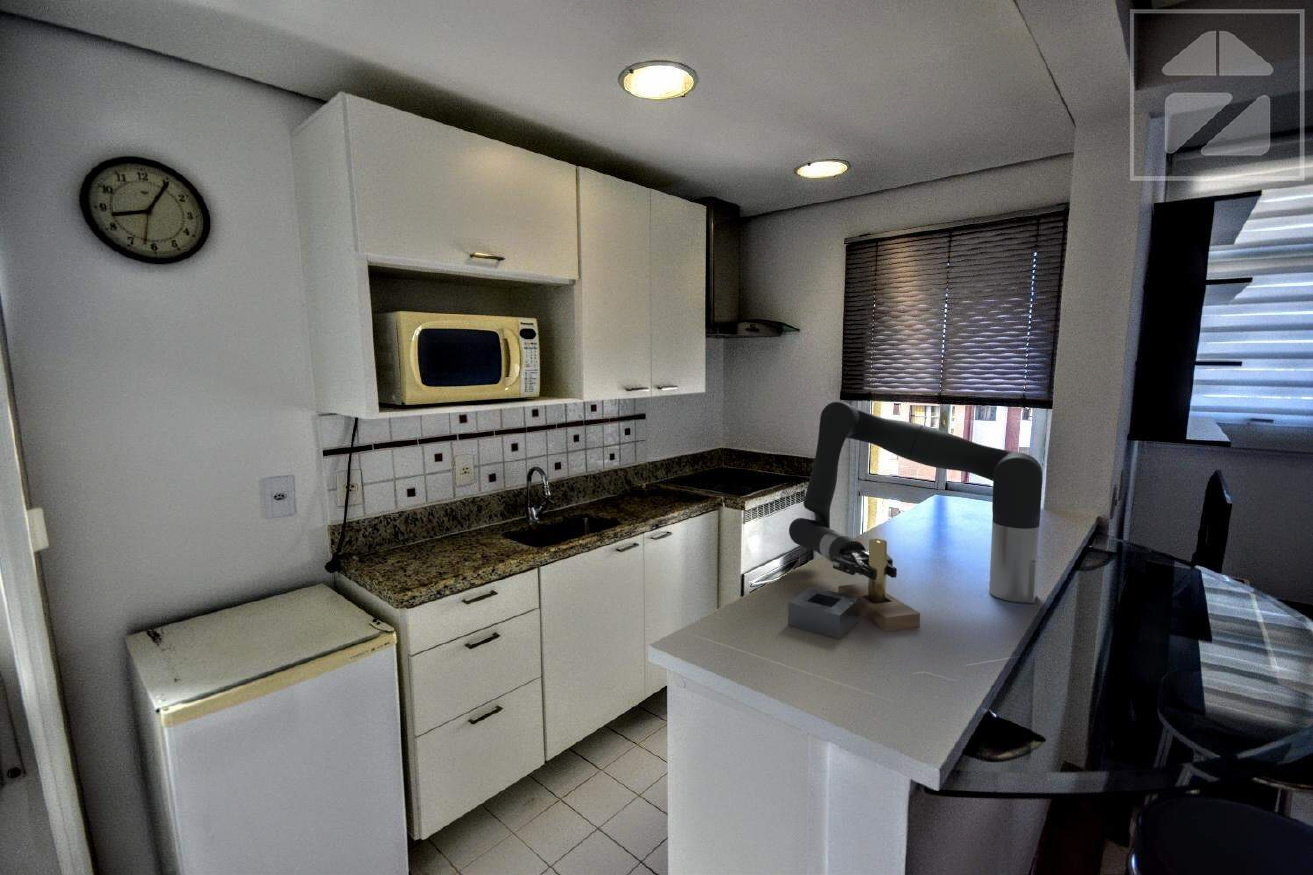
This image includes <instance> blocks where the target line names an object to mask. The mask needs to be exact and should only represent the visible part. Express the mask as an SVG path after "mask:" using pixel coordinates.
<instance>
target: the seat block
mask: <svg viewBox="0 0 1313 875" xmlns="http://www.w3.org/2000/svg"><path fill="white" fill-rule="evenodd" d="M859 599H860V598H858V597H854V596H849V595H845V594H841V593H838V592H835V591H831V590H827V589H823V588H819V587H815V586H809V587H808V588H806V589H804V591H802V592H800V593H799V594H798V595H796V596H795V597H794V598H792V599H791V600H790V601H789V602H787V604H788V607H787V608H788V610H787V611H788V612H787V615H788V616H787V619H788V622H787V626H789V627H793V628H797V629H801V630H804V631H807V632H811V633H814V634H817V635H822V636H825V637H829V638H832V639H834V640H838V641H839V640H842V638H843V637H844V636H845V635H846V634H847V633H848V632H849V631H850V630H851V629H852V628H853V627H854V626H855V625H856V624H857V623H858V622H859V621H860V613H859Z"/></svg>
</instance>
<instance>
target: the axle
mask: <svg viewBox="0 0 1313 875" xmlns="http://www.w3.org/2000/svg"><path fill="white" fill-rule="evenodd" d="M887 548H888V541H886V539H882V538H870V539H868V552H869V567H871V568H873V569H875V570H876V572H877V576H876V580H871V579H870V578H868V577H867V579H868V581H867V583H868V601H870V602H871V603H873V604H877V603H885V600H886V593H887V588H886V587H887V585H886V584H887V575H886V559H887V554H888V553H887V552H888V551H887Z"/></svg>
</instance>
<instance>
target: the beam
mask: <svg viewBox="0 0 1313 875" xmlns="http://www.w3.org/2000/svg"><path fill="white" fill-rule="evenodd" d="M837 588H838V590H837V591H838V592H837V593H841V594H845V595H849V596H854V597H858V598H860V599H859V615H861V616H862V617H864V618H865V619H867V620H868V621H869V622H871V623H872V624H874V625H875V626H876V627H878V628H879V629H880V630H882V631H883V632H885V633H886V632H895V631H901V630H909V629H915V628H920V626H921V624H920V623H921V613H920V612H919V611H917V610H916V609H914V608H912V607H910V606H909V605H908V604H905V603H904V602H902V601H901V600H899V599H898V598H895V597H894V596H892V595H891V594H889V593H887V592H886V600H885V603H877V604H873V603H871V602H870V601H868V582H861V583H860V582H859V583H852V584H844V585H843V584H842V585H838V587H837Z"/></svg>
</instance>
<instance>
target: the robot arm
mask: <svg viewBox="0 0 1313 875" xmlns="http://www.w3.org/2000/svg"><path fill="white" fill-rule="evenodd" d="M819 418H820V419H819V426H818V427H819V428H818V438H817V445H816V449H815V450H816V451H815V457H814V461H813V466H812V469H811V474H810V477H809V481H808V484H807V487H806V492H805V496H804V499H803V507H804V509H806V510H808V511H810V512H812V513H814V519H809V518H803V517H798V518H795V519H794V520H792V521H791V523H790V524H789V527H788V534H789V537H790V539H791V541H792V542H793V543H794V544H796V545H798V546H800V547H803V548H806V549H808V550H811V551H814V552H816V553H818V554H819V555H821V556H823V557H824V558H825V559H826V560H827V561H829V562H830V563H832V568H833V569H834V570H837V571H840V572H842V573H845V574H848V575H850V576H855V575H856V574H858V575H860V576H864V577H866V578H867V579H868V578H870V579H871V580H876V576H877V572H876V570H875V569H873V568H871V567H869V550H867V549H866V548H865V546H864V545H863V543H862V542H860V541H858V540H856V539H854V538H852V537H850V536H848V535H847V534H844V533H842V532H838V531H836V530H834V529H831V527H830V526H831V525H830V524H831V522H830V521H831V520H830V519H831V506H832V502H833V498H834V495H835V491H836V489H837V488H836V487H837V480H838V471H839V461H840V456H841V452H842V450H843V446H844V443H845V441H846V440H847V439H850V440H853V441H854V440H855V441H859V442H865V443H868V444H871V445H874V446H876V447H878V448H881V449H883V450H884V451H887V452H889V453H891V454H893V455H895V456H898V457H900V458H903V459H906V460H908V461H912V462H914V463H918V464H920V465H924V466H927V467H931V468H937V469H942V470H950V471H959V472H964V473H969V474H973V475H975V476H978V477H981V478H984V479H987V480H990V481H991V482H992V503H991V504H992V505H991V506H992V507H991V509H992V522H991V523H992V524H991V540H990V541H991V544H990V563H989V564H990V566H989V568H990V569H989V582H988V583H989V584H988V585H989V587H988V588H989V589H988V592H989V594H990V595H992V596H994V597H995V598H998V599H1001V600H1004V601H1007V602H1012V603H1013V602H1014V603H1029V604H1035V601H1036V598H1037V595H1038V580H1039V578H1038V577H1039V561H1040V556H1039V544H1040V543H1039V539H1040V538H1039V537H1040V524H1041V523H1040V522H1041V509H1042V507H1041V505H1042V493H1043V492H1042V490H1043V469H1042V466H1041V464H1040V462H1039V461H1038V460H1037V459H1036V458H1034V457H1033V456H1031V455H1030V454H1028V453H1023V452H1019V451H1013V450H1007V449H1001V448H996V447H992V446H987V445H983V444H979V443H977V442H975V441H971V440H969V439H967V438H966V439H965V438H964V437H961V436H957V435H954V434H952V433H949V432H946V431H942V430H939V429H937V428H933V427H930V426H926V425H923V424H919V423H914V422H908V421H903V420H897V419H896V420H895V419H890V418H889V419H888V418H883V417H880V416H878V415H875V414H872V413H870V412H867V411H864V410H862V409H859V408H857V407H855V406H853V405H851V404H849V403H847V402H844V401H833V402H830V403H828V404H827V405H825V407H824V408H823V409H822V411H821V413H820V417H819ZM893 563H894V560H893V558H892V557H891V556H890V555H889V554H888V553H887V559H886V576H889V577H890V578H892V579H894V578H897V575H898V573H897V571H898V569H897V567H895V566H894V565H893Z"/></svg>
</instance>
